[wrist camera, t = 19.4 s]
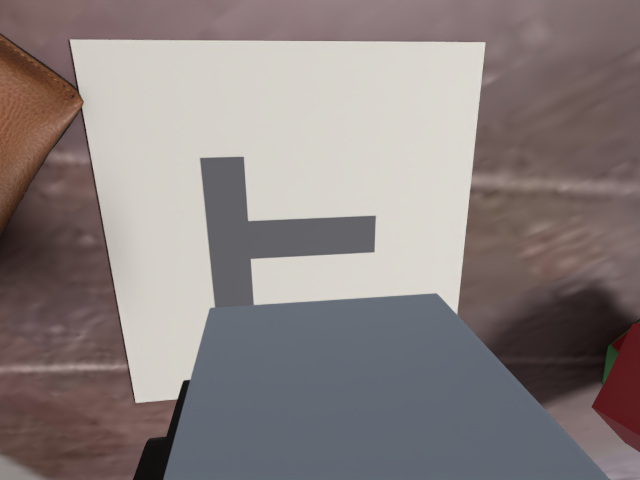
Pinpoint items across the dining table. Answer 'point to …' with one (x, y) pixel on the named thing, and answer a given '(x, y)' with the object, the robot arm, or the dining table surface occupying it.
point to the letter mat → (273, 178)
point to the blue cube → (361, 399)
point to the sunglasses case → (28, 120)
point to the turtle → (622, 387)
